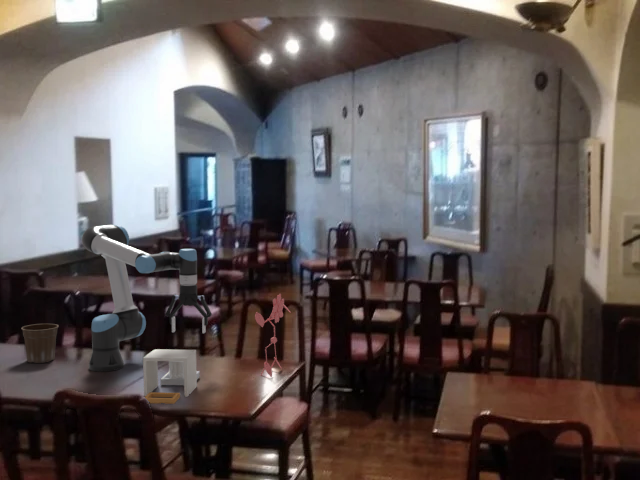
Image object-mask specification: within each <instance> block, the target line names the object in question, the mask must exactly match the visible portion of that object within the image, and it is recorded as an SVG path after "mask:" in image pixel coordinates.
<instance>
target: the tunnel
mask: <svg viewBox="0 0 640 480" xmlns="http://www.w3.org/2000/svg"><path fill="white" fill-rule="evenodd" d="M169 361H184V385H183V387H184V389H183V390H184V397H185V398H186V397H189V396H190V395H191V393H192V392H193V391H194V390H195V389H196V388H197V387H198V382H197V381H198V379H197V371H198V370H197V349H167V348H166V349H160V348H157V349H156V348H155V349H153V350H152V351H150V352H149V353H147V354H145V356H144V357H142V366H143V396H144V397H145V396H146V395H147V394H149V393H150V392H153V391H154V390H155V389H156V388H157V387H159V369H158V367H159V365H158V364H159V363H158V362H169ZM189 394H190V395H189Z"/></svg>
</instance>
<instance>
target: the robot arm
mask: <svg viewBox="0 0 640 480" xmlns="http://www.w3.org/2000/svg"><path fill="white" fill-rule="evenodd" d="M129 242H130V235H129V233H128V230H127V229H126V228H125V227H123V226H122V225H120V224H107V225H106V224H105V225H94V226H90V227H88V228H87V229H86V230H84V232H83V234H82V237H81V243H82V246H83V247H84V248H85V249H86V250H87V251H89V252H91V253H92V254H96V255H101V257H103V259H105V265H106V269H107V270H106V271H107V274H108V280H109V285H110V291H111V295H112V301H113V304H114V305H113V306H114V310H113V311H112V313H107V314H102V315H98V316H95V317H94V318H93V319H92V320H91V321H92V322H91V328H90V329H91V330H90V331H91V343H92V344H91V345H92V346H91V347H92V353H91V356H90V358H89V362H88V370H90V371H92V372H112V371H116V370H120V369H122V368H124V365H125V364H124V358H123V356H122V353H121V351H120V342H122V341H123V342H124V341H126V340H130V339H131V340H132V339H135V338H137V337H139V336H141V335H142V334H143V333H144V331H145V329H146V327H147V326H146V325H147V321H146V317H145V315H144V314H143V313H142V312H141V311H139V308H138V306H136V305H135V304H134V300H133V296H132V294H133V293H132V290H131V286H130V285H131V284H130V280H129V275H128V274H129V273H128V270H127V266H126V265H130V266H132V267H135V269H136V270H137V271H138V272H139V273H140V274H150V273H151V274H152V273H154V272H155V273H156V272H164V271H169V270H176V271H179V295H178V294H173V295H172V297H171V301H170V303H169V306H168V308H167V309H166V311H165V314H164V315H165V316H166V317H168V318H169V325H171V333H175V332H176V316H175V314H176V313H178V311H179V310H180V309H181V307H182V306H186V307H187V306H188V307H192V306H193V307H195V309H196V310H197V311H198V312H199V313H200V315H201V316H202V322H201V323H202V325H201V326H202V327H201V328H202V333H201V334H205V333H206V332H207V329H206V327H207V325H208V324H209V323H208V321H209V320H208V319H209V318H210V317H212V316H213V314H212V311H211V310H210V308H209V305H208V303H207V301H206V298H205V295H204V294H202V295H198V285H197V284H198V255H197V253H198V252H197V250H196V249H195V248H181V249H179V251H178V252H173V251H172V252H170V251H162V252H159V253H154V254H153V253H152V254H151V253H148V252H146V251H144V250H141V249H137V248H136V247H133V246H130V245H129ZM178 299H179V301H180V302H179V303H178V305H176V307H175V308H174V309H173V307H174V306H175V304H176V301H177V300H178ZM198 301H200V302H201V304H202V307H201V305H200V304H199V302H198ZM171 311H172V312H171Z"/></svg>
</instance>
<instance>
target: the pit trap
mask: <svg viewBox="0 0 640 480" xmlns="http://www.w3.org/2000/svg"><path fill="white" fill-rule="evenodd" d="M144 397H145V398H146V399H147V400H148V401H149V402H150V403H149V404H161V403H165V405H166V404H170V405H171V404H172V405H174V404H176V403H177V402H178V400H179V399H180V398H181V392H161V391H160V392H153V391H152V392H150V393H149V394H147V395H146V396H144Z"/></svg>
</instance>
